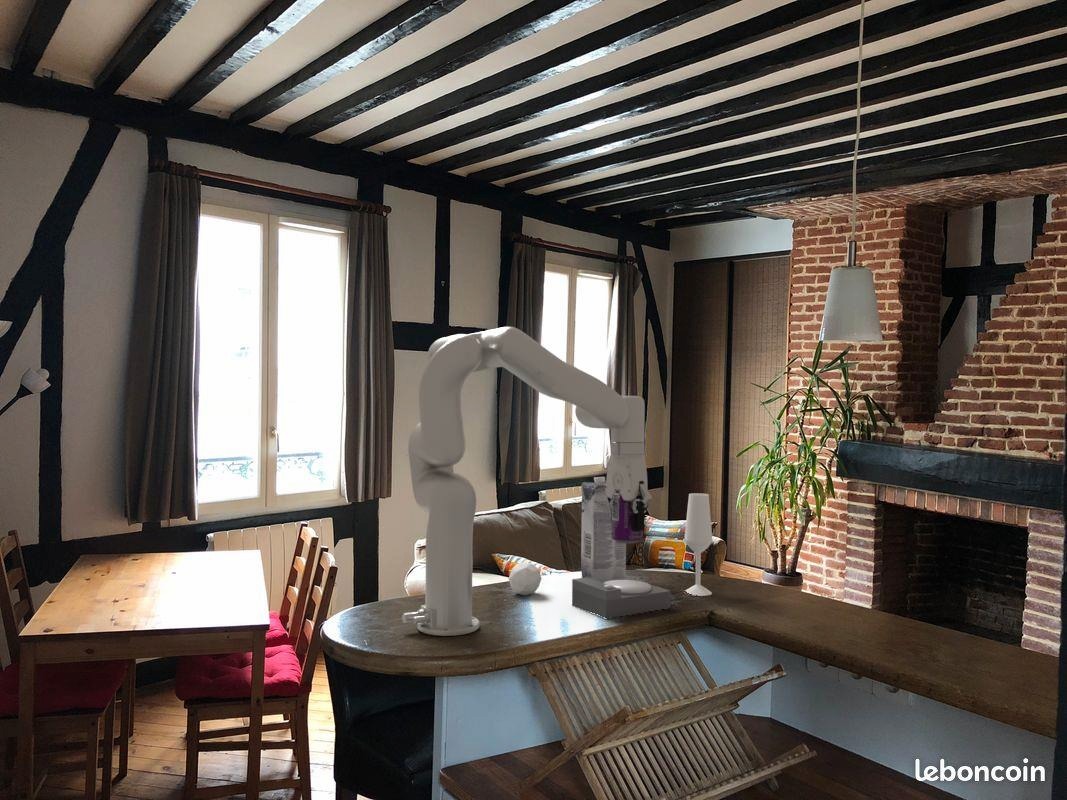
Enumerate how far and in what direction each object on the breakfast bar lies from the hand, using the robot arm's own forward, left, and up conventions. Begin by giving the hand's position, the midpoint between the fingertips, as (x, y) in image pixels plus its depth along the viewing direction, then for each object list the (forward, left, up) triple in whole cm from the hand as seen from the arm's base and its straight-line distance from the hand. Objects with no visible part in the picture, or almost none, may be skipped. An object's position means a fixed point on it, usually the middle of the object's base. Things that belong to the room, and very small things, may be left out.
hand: (627, 527), depth 181 cm
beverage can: (0, 0, -3) cm, 3 cm away
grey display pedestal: (-2, 0, -18) cm, 18 cm away
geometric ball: (-15, +21, -18) cm, 31 cm away
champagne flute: (+23, +2, -18) cm, 30 cm away
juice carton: (+9, +22, -18) cm, 30 cm away
